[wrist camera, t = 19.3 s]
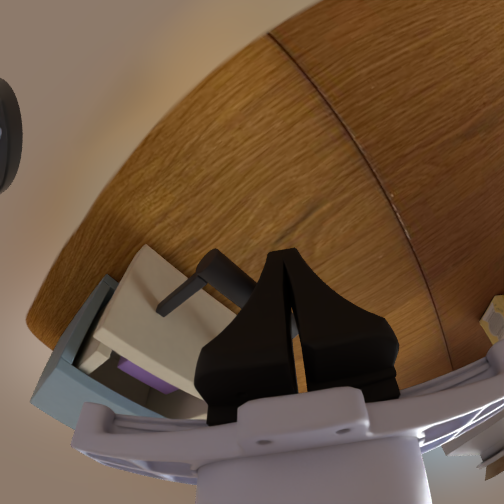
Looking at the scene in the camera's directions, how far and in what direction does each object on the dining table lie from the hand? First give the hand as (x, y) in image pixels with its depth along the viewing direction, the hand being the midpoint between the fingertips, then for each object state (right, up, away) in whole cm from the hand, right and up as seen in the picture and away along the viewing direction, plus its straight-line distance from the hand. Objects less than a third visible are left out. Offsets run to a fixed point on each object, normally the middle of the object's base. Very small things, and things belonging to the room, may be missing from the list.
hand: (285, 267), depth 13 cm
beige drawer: (-7, -4, +6) cm, 10 cm away
